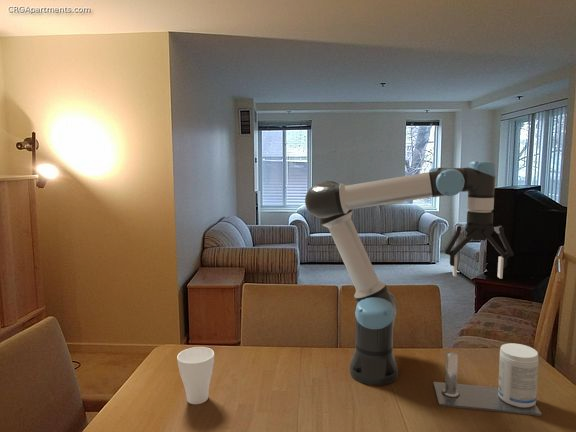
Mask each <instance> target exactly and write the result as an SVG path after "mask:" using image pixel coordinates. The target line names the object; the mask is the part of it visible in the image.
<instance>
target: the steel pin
mask: <svg viewBox="0 0 576 432" xmlns="http://www.w3.org/2000/svg"><path fill="white" fill-rule="evenodd" d="M458 360H459V354H458V353H456V352H453V351H449V352H446V360H445V361H446V363H445V364H446V365H445V382H444V383H445V388H444V389H443V394H444V395H445V396H447V397H451V398H455V397H458V396H459V392H458V391H457V390H456V386H457V384H458V380H457V379H458Z"/></svg>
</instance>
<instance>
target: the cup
mask: <svg viewBox="0 0 576 432" xmlns="http://www.w3.org/2000/svg"><path fill="white" fill-rule="evenodd" d="M176 360H177V361H176V362H177V367H178V371H179V375H180V379H181V381H182V384H183V387H184V390H185V395H186V401H187V403H189V404H191V405H201V404H203V403H205V402H206V401H208V399H209V392H210V391H209V390H210V385H211V384H210V383H211V379H212V375H213V370H214V364H215V352H214V350H213V349H212V348H209V347H207V346H206V347H205V346H194V347H193V346H192V347H189V348H186V349H183V350H181V351H180V352H179V353H178V354H177V357H176Z"/></svg>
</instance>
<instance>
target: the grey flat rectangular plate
mask: <svg viewBox="0 0 576 432" xmlns="http://www.w3.org/2000/svg"><path fill="white" fill-rule="evenodd" d="M433 386H434V387H433V388H434V391H435V395H436V400H437V403H438V406H439V407H449V408H457V409H458V408H459V409H469V410H479V411H489V412H499V413H511V414H519V415H529V416H540V417H543V416H542V412H541V411H540V409H539V407H538V406H537V405H536V403H535V405H533V406H531V407H527V408H522V407H516V406H513V405H510V404H508V403H506V402H504V401H503V400H502V399H501V398H500V397H499V395H498V386H488V385H486V386H485V385H484V386H483V385H475V384H464V383H463V384H462V383H457V386H456V390H457V391H458V392H459V396H458V397H455V398H451V397H447V396H445V395H444V394H443V389H444V388H445V382H441V381H440V382H439V381H433Z"/></svg>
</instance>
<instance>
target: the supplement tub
mask: <svg viewBox="0 0 576 432" xmlns="http://www.w3.org/2000/svg"><path fill="white" fill-rule="evenodd" d="M538 375H539V352H538V351H537V350H536V349H534V347H531V346H529V345H525V344H522V343H521V344H520V343H514V342H513V343H512V342H510V343H504V344H502V345H500V350H499V361H498V386H497V387H498V395H499V397H500V398H501V399H502V400H503V401H504V402H506V403H508V404H510V405H513V406H516V407H522V408H527V407H531V406H533V405H535V404H536V403H537V397H538V379H539V377H538Z"/></svg>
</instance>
